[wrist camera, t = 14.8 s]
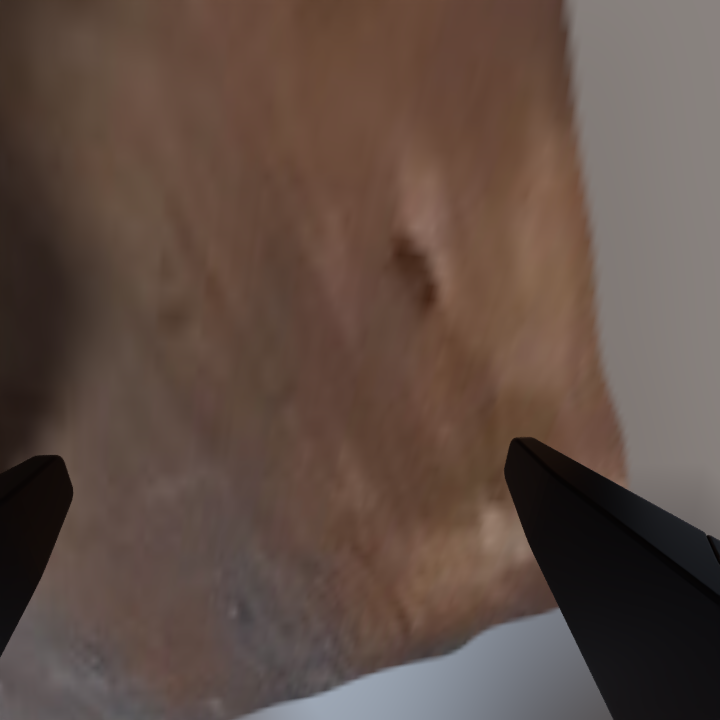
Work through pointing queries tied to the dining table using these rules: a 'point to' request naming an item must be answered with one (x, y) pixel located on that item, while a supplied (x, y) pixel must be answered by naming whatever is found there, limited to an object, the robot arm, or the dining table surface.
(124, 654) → the dining table surface
